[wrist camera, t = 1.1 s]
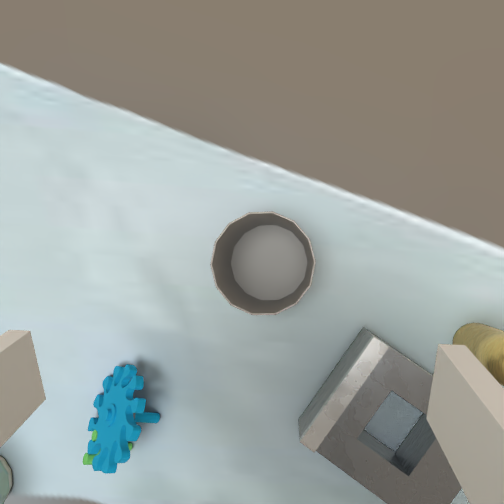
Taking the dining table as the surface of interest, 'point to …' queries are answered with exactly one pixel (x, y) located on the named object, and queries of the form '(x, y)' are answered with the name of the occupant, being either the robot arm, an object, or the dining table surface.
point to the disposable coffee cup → (4, 480)
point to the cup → (263, 263)
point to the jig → (359, 414)
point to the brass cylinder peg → (484, 346)
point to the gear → (117, 420)
